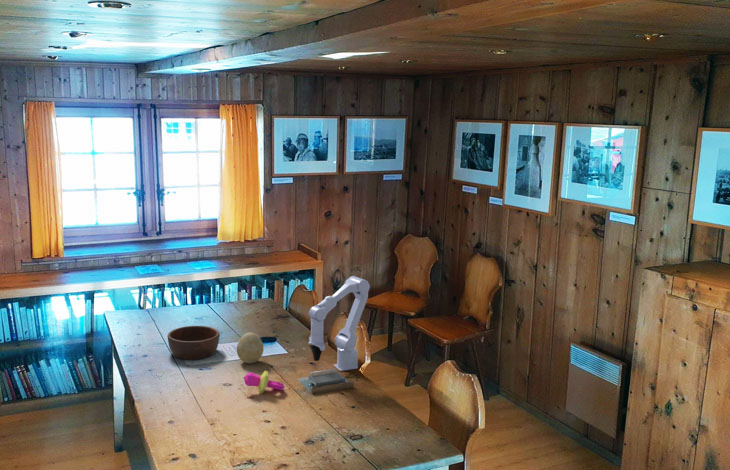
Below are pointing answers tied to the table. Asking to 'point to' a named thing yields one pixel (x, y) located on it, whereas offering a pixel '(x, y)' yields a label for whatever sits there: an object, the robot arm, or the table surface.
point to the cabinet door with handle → (326, 377)
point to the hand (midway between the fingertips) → (316, 360)
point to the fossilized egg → (250, 348)
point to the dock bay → (324, 386)
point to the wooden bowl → (193, 342)
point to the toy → (262, 382)
